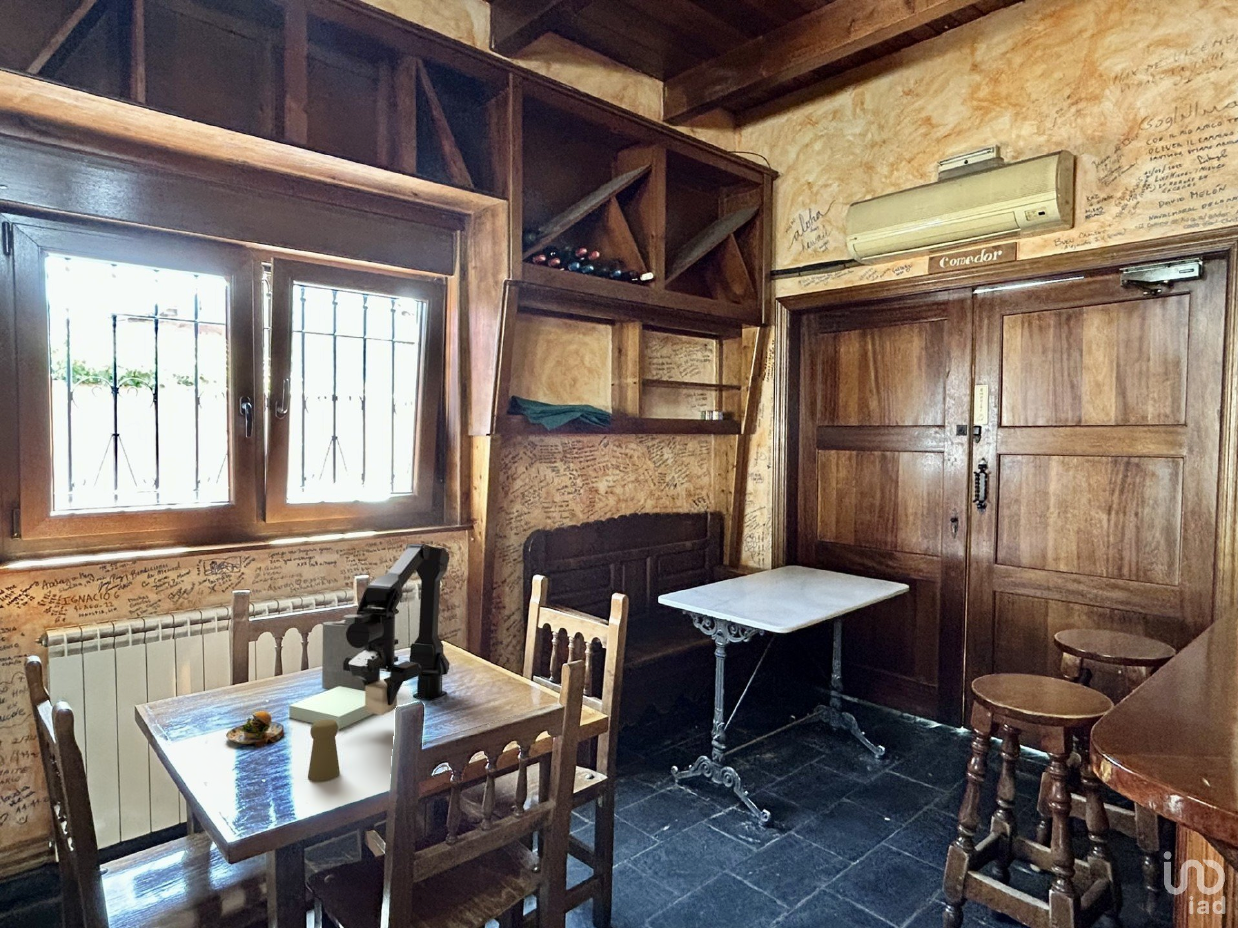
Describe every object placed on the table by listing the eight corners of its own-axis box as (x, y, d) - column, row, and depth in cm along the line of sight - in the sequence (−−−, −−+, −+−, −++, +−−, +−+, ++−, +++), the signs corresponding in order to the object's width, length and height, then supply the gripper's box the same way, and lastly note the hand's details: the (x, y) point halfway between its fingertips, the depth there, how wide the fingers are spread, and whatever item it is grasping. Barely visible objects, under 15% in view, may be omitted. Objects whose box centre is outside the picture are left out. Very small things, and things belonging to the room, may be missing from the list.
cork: (313, 768, 152) (313, 715, 151) (343, 768, 152) (344, 715, 152) (303, 782, 146) (303, 727, 145) (334, 781, 146) (335, 726, 146)
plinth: (339, 697, 194) (339, 685, 193) (386, 707, 187) (386, 695, 187) (289, 717, 179) (289, 705, 179) (339, 729, 172) (339, 716, 172)
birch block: (380, 704, 175) (380, 679, 175) (396, 707, 173) (397, 682, 173) (365, 711, 171) (365, 685, 171) (381, 715, 169) (382, 689, 169)
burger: (228, 732, 170) (228, 700, 170) (284, 725, 175) (284, 694, 174) (223, 752, 159) (223, 718, 159) (283, 744, 164) (283, 711, 163)
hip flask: (381, 686, 203) (382, 614, 202) (375, 691, 199) (376, 617, 198) (325, 684, 204) (326, 612, 203) (318, 689, 200) (319, 615, 199)
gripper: (325, 639, 168) (324, 707, 169) (389, 650, 160) (388, 721, 161) (360, 628, 178) (360, 692, 179) (422, 638, 171) (421, 705, 171)
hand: (381, 702), depth 172 cm, fingers closed on birch block, 5 cm apart
